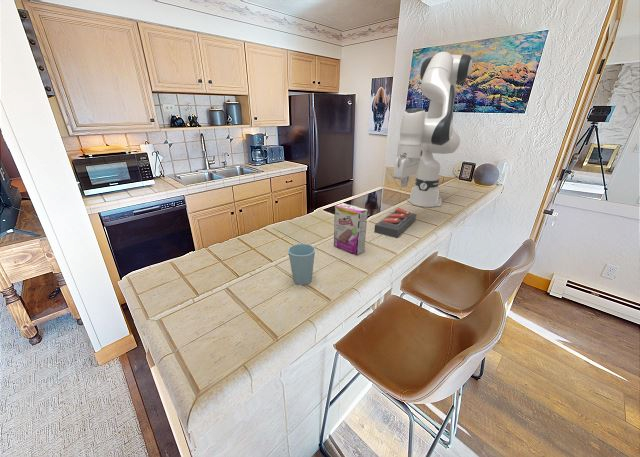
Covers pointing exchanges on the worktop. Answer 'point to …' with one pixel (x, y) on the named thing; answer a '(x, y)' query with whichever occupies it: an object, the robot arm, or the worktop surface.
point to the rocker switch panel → (395, 225)
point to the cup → (302, 263)
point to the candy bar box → (350, 228)
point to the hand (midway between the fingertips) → (404, 186)
